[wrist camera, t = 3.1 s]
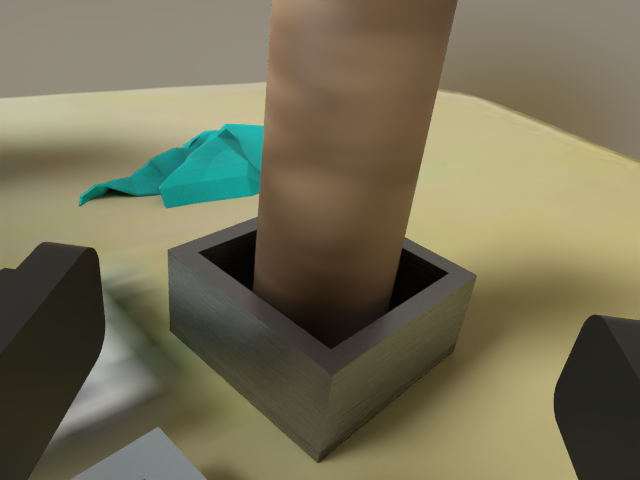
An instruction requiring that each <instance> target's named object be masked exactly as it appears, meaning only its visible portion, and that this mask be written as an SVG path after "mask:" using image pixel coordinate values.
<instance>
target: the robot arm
mask: <svg viewBox="0 0 640 480" xmlns="http://www.w3.org/2000/svg"><path fill="white" fill-rule="evenodd" d="M104 336H105V314H104V305H103V295H102V285H101V276H100V266H99V258H98V255H97V252H96V251H95V249H93V248H90V247H83V246H75V245H67V244H60V243H52V242H43V243H41V244H40V245H38V246H37V247H36V248H35V249H34V251H33V252H32V253H31V254H30V255H29V256H28V257H27V258H26V259H25V260H24V261H23V262H22V263H21V264H20V265H19V266H18V267H17V268H16V269H8V268H4V269H2V270H0V480H28V478H29V476H30V474H31V473H32V471H33V469H34V468H35V466H36V464H37V462H38V461H39V459H40V457H41V456H42V454H43V452H44V450H45V449H46V447H47V445H48V444H49V442H50V440H51V438H52V437H53V435H54V433H55V432H56V430H57V428H58V426H59V425H60V423H61V421H62V419H63V418H64V416H65V414H66V413H67V411H68V409H69V407H70V406H71V404H72V402H73V401H74V399H75V397H76V395H77V394H78V392H79V390H80V389H81V387H82V385H83V383H84V382H85V380H86V378H87V377H88V375H89V373H90V371H91V370H92V368H93V366H94V365H95V363H96V361H97V359H98V357H99V355H100V352H101V349H102V346H103V341H104ZM554 413H555V418H556V422H557V425H558V427H559V430H560V433H561V435H562V438H563V440H564V443H565V446H566V448H567V451H568V454H569V456H570V459H571V461H572V464H573V467H574V469H575V472H576V475H577V477H578V480H640V320H632V319H625V318H617V317H609V316H602V315H592V316H590V317H589V318H588V319H587V320H586V321H585V322H584V324H583V326H582V328H581V331H580V333H579V335H578V337H577V339H576V342H575V344H574V346H573V348H572V350H571V353H570V355H569V357H568V359H567V361H566V364H565V366H564V368H563V370H562V372H561V375H560V377H559V379H558V381H557V384H556V388H555V393H554Z"/></svg>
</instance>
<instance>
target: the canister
mask: <svg viewBox="0 0 640 480" xmlns="http://www.w3.org/2000/svg"><path fill="white" fill-rule="evenodd" d="M457 1H458V0H272V13H271V28H270V43H269V59H268V74H267V88H266V103H265V118H264V133H263V148H262V163H261V178H260V193H259V208H258V223H257V238H256V253H255V268H254V283H253V293H254V294H256V295H257V296H258V297H260V298H261V299H262V300H264V301H265V302H266V303H268V304H269V305H271V306H272V307H273V308H275V309H276V310H277V311H279V312H280V313H282V314H283V315H284V316H286V317H287V318H288V319H290V320H291V321H293V322H294V323H295V324H297V325H298V326H299V327H301V328H302V329H303V330H305V331H306V332H308V333H309V334H310V335H312V336H313V337H314V338H316V339H317V340H319V341H320V342H321V343H323V344H324V345H325V346H327V347H328V348H330V349H333V348H334V347H336V346H337V345H339V344H340V343H342V342H344V341H345V340H347V339H348V338H350V337H351V336H353V335H354V334H356V333H358V332H359V331H361V330H362V329H364V328H365V327H367V326H368V325H370V324H371V323H373V322H375V321H376V320H378V319H379V318H381V317H382V316H384V315H385V314H387V313H388V309H389V304H390V300H391V296H392V291H393V287H394V282H395V278H396V273H397V269H398V264H399V260H400V255H401V251H402V246H403V242H404V237H405V233H406V228H407V224H408V220H409V215H410V211H411V206H412V202H413V197H414V193H415V188H416V184H417V179H418V175H419V170H420V166H421V161H422V157H423V152H424V148H425V144H426V139H427V135H428V130H429V126H430V121H431V117H432V112H433V108H434V103H435V99H436V94H437V90H438V85H439V81H440V77H441V72H442V68H443V63H444V59H445V54H446V50H447V45H448V41H449V36H450V32H451V27H452V23H453V18H454V14H455V9H456V5H457Z"/></svg>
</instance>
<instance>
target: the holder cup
mask: <svg viewBox="0 0 640 480" xmlns="http://www.w3.org/2000/svg"><path fill="white" fill-rule="evenodd" d="M257 223H258V217H256V218H253V219H250V220H248V221H245V222H242V223H239V224H237V225H234V226H231V227H229V228H226V229H223V230H220V231H218V232H215V233H212V234H210V235H207V236H204V237H201V238H199V239H196V240H193V241H190V242H188V243H185V244H182V245H180V246H177V247H174V248H171V249H169V250H168V277H169V312H170V331H171V332H172V333H173V334H175V335H176V336H177V337H178V338H179V339H180V340H181V341H182V342H183V343H185V344H186V345H187V346H188V347H189V348H190V349H191V350H192V351H193V352H195V353H196V354H197V355H198V356H199V357H200V358H201V359H202V360H204V361H205V362H206V363H207V364H208V365H209V366H210V367H211V368H212V369H214V370H215V371H216V372H217V373H218V374H219V375H220V376H221V377H223V378H224V379H225V380H226V381H227V382H228V383H229V384H230V385H231V386H233V387H234V388H235V389H236V390H237V391H238V392H239V393H240V394H241V395H243V396H244V397H245V398H246V399H247V400H248V401H249V402H250V403H252V404H253V405H254V406H255V407H256V408H257V409H258V410H259V411H260V412H262V413H263V414H264V415H265V416H266V417H267V418H268V419H269V420H271V421H272V422H273V423H274V424H275V425H276V426H277V427H278V428H279V429H281V430H282V431H283V432H284V433H285V434H286V435H287V436H288V437H289V438H291V439H292V440H293V441H294V442H295V443H296V444H297V445H298V446H300V447H301V448H302V449H303V450H304V451H305V452H306V453H307V454H308V455H310V456H311V457H312V458H313V459H314V460H315V461H316V462H317V463H318V462H319V461H320V460H321V459H323V458H324V457H325V456H326V455H327V454H329V453H330V452H331V451H332V450H334V449H335V448H336V447H337V446H338V445H340V444H341V443H342V442H343V441H344V440H346V439H347V438H348V437H349V436H351V435H352V434H353V433H354V432H355V431H357V430H358V429H359V428H360V427H361V426H363V425H364V424H365V423H366V422H368V421H369V420H370V419H371V418H372V417H374V416H375V415H376V414H377V413H378V412H380V411H381V410H382V409H383V408H385V407H386V406H387V405H388V404H389V403H391V402H392V401H393V400H394V399H395V398H397V397H398V396H399V395H400V394H402V393H403V392H404V391H405V390H406V389H408V388H409V387H410V386H411V385H412V384H414V383H415V382H416V381H417V380H419V379H420V378H421V377H422V376H423V375H425V374H426V373H427V372H428V371H429V370H431V369H432V368H433V367H434V366H436V365H437V364H438V363H439V362H440V361H442V360H443V359H444V358H445V357H446V356H448V355H449V354H450V353H451V352H453V351H454V348H455V344H456V341H457V338H458V335H459V332H460V328H461V325H462V322H463V319H464V316H465V312H466V309H467V306H468V303H469V300H470V296H471V293H472V290H473V287H474V284H475V281H476V277H477V275H475V274H473V273H472V272H470V271H468V270H466V269H464V268H462V267H460V266H458V265H456V264H455V263H453V262H451V261H449V260H447V259H445V258H443V257H441V256H439V255H438V254H436V253H434V252H432V251H430V250H428V249H426V248H424V247H422V246H420V245H419V244H417V243H415V242H413V241H411V240H409V239H407V238H405V237H404V242H403V246H402V251H401V255H400V260H399V264H398V269H397V273H396V278H395V282H394V287H393V291H392V296H391V300H390V304H389V309H388V313H387V314H385V315H384V316H382V317H381V318H379V319H378V320H376V321H375V322H373V323H371V324H370V325H368V326H367V327H365V328H364V329H362V330H361V331H359V332H358V333H356V334H354V335H353V336H351V337H350V338H348V339H347V340H345V341H344V342H342V343H340V344H339V345H337V346H336V347H334V348H333V349H330V348H328V347H327V346H325V345H324V344H323V343H321V342H320V341H319V340H317V339H316V338H314V337H313V336H312V335H310V334H309V333H308V332H306V331H305V330H303V329H302V328H301V327H299V326H298V325H297V324H295V323H294V322H293V321H291V320H290V319H288V318H287V317H286V316H284V315H283V314H282V313H280V312H279V311H277V310H276V309H275V308H273V307H272V306H271V305H269V304H268V303H266V302H265V301H264V300H262V299H261V298H260V297H258V296H257V295H256V294H254V293H253V283H254V268H255V253H256V238H257Z"/></svg>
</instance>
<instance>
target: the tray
mask: <svg viewBox="0 0 640 480" xmlns="http://www.w3.org/2000/svg"><path fill="white" fill-rule="evenodd" d="M70 480H207V479H206V478H205V477H204V476H203V474H202V473H201V472H200V471H199V470H198V469H197V468H196V467H195V466H194V465H193V464H192V463H191V462H190V460H189V459H188V458H187V457H186V456H185V455H184V454H183V453H182V452H181V451H180V450H179V449H178V447H177V446H176V445H175V444H174V443H173V442H172V441H171V440H170V439H169V438H168V437H167V436H166V435H165V433H164V432H163V431H162V430H161V429H160V428H159V427H157V428H155V429H154V430H152V431H150V432H149V433H147V434H145V435H144V436H142V437H140V438H139V439H137V440H135V441H134V442H132V443H130V444H129V445H127V446H125V447H124V448H122V449H120V450H119V451H117V452H115V453H114V454H112V455H110V456H108V457H107V458H105V459H103V460H102V461H100V462H98V463H97V464H95V465H93V466H92V467H90V468H88V469H87V470H85V471H83V472H82V473H80V474H78V475H77V476H75V477H73V478H72V479H70Z"/></svg>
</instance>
